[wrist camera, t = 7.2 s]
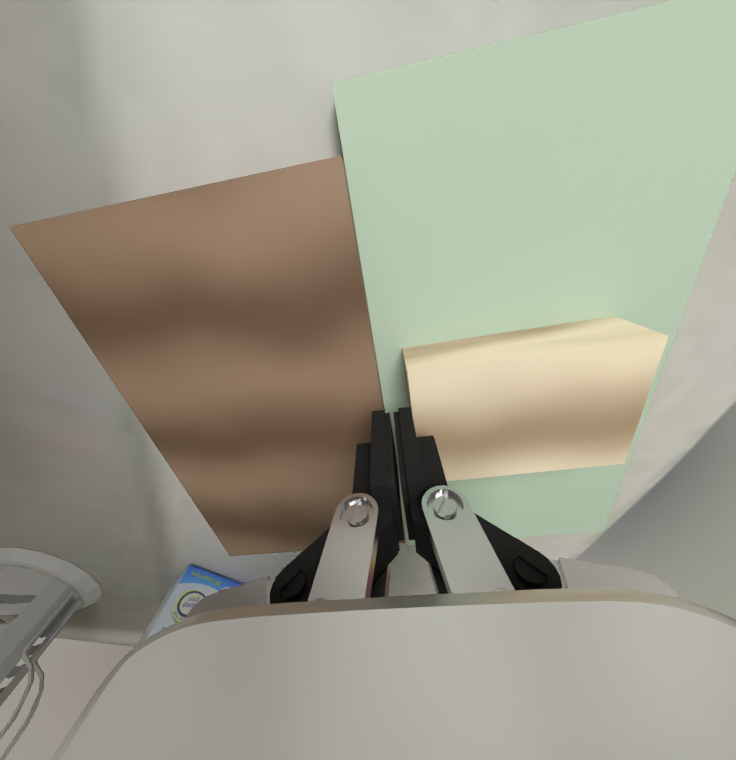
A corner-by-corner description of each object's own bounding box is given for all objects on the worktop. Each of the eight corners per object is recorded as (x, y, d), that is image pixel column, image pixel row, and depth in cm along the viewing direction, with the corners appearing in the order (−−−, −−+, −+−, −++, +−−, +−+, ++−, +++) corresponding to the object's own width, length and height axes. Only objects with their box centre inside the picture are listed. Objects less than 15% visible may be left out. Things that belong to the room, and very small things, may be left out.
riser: (64, 227, 12) (9, 227, 10) (346, 168, 10) (341, 155, 9) (242, 528, 21) (230, 556, 19) (402, 514, 20) (405, 542, 18)
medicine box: (273, 592, 25) (229, 749, 18) (252, 611, 27) (203, 761, 19) (189, 560, 23) (97, 723, 16) (171, 583, 25) (81, 738, 17)
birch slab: (402, 347, 13) (407, 372, 11) (614, 316, 12) (668, 335, 10) (414, 447, 16) (420, 484, 13) (586, 428, 15) (624, 463, 12)
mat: (335, 96, 10) (331, 82, 9) (763, -6, 8) (810, -33, 7) (405, 532, 21) (407, 545, 20) (593, 517, 19) (603, 531, 19)
